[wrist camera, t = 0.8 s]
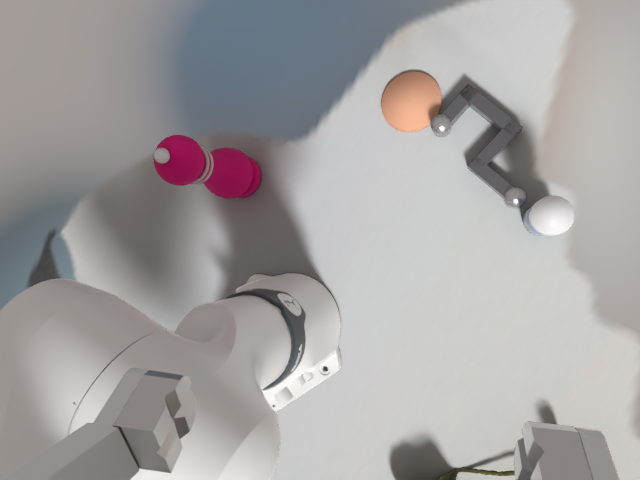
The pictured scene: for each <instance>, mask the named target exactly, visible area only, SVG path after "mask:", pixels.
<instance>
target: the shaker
mask: <svg viewBox="0 0 640 480" xmlns="http://www.w3.org/2000/svg"><path fill="white" fill-rule="evenodd" d="M574 215H575V214H574V209H573V207H572V205H571V204H570V203H569V202H568V201H567V200H566V199H564V198H562V197H559V196H547V197H544V198H542V199H540V200H539V201H537V202H536V203H535V204H534V205H533V206H532V207H530V208H529V209H528V210H527V211H526V212H525V214H524V216H523V224H524V227H525V228H526V230H527V231H528V232H530V233H532V234H534V235H558V234H561V233H563V232H565V231H566V230H568V229H569V228H570V227H571V225H572V223H573V221H574Z"/></svg>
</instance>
